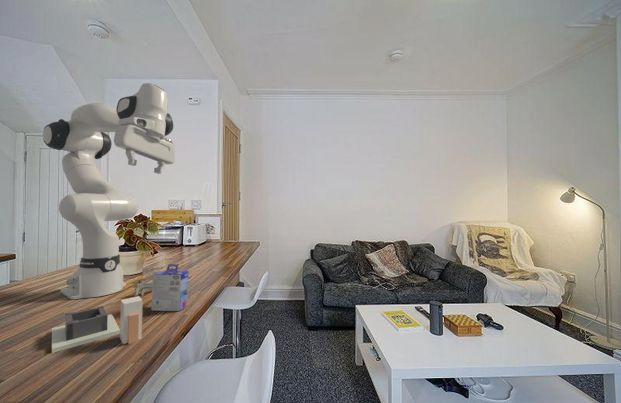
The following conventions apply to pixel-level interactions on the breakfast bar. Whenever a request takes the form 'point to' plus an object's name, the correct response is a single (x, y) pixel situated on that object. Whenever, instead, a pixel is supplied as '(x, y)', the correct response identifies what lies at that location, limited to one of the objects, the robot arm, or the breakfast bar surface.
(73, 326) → the socket
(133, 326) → the cream square peg
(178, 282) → the ink cartridge box
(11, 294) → the breakfast bar surface
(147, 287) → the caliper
